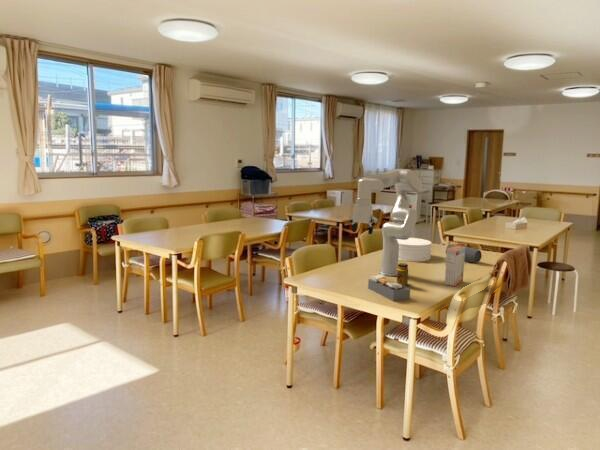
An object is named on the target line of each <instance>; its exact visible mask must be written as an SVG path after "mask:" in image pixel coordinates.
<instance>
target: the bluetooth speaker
mask: <svg viewBox="0 0 600 450" xmlns="http://www.w3.org/2000/svg"><path fill="white" fill-rule="evenodd" d="M455 245H456V244H448V245H447V246H446V249H445V255H446V254H447V249H448V248H451V247H453V246H455ZM482 256H483V255H482V252H481V250H479V249H477V248H473V247H468V246H465V258H464V263H470V262H471V263H472V262H473V263H478V262H480V261H481V260H482Z"/></svg>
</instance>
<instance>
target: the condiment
mask: <svg viewBox="0 0 600 450" xmlns="http://www.w3.org/2000/svg"><path fill="white" fill-rule="evenodd" d="M408 265H409V264H407V263H403V262H402V263H401V262H400V263H398V269H397V276H396V283H398V284H401V285H402V286H404V287H406V288H408V287H410V286H412V283H408V281H409V280H408V279H409V266H408Z"/></svg>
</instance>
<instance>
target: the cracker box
mask: <svg viewBox="0 0 600 450" xmlns="http://www.w3.org/2000/svg"><path fill="white" fill-rule="evenodd" d="M454 245H455V246H453V247H451V248H448V249H447V254H446V253H445V255H446V256H445V258H446V259H445V274H444V275H445V277H444V285H446V286H451V287H455V286H457V285H459V284H461V283H462V282H463V281H464V271H465V262H464V258H465V247H466V246H464V245H459V244H457V245H456V244H454Z"/></svg>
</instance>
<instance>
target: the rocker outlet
mask: <svg viewBox="0 0 600 450" xmlns="http://www.w3.org/2000/svg"><path fill="white" fill-rule="evenodd" d="M386 285H388V286H390V287H392V288H395V289H398V288H402V285H401V284H398V283H397V282H395V283H392V282H387V284H386Z"/></svg>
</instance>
